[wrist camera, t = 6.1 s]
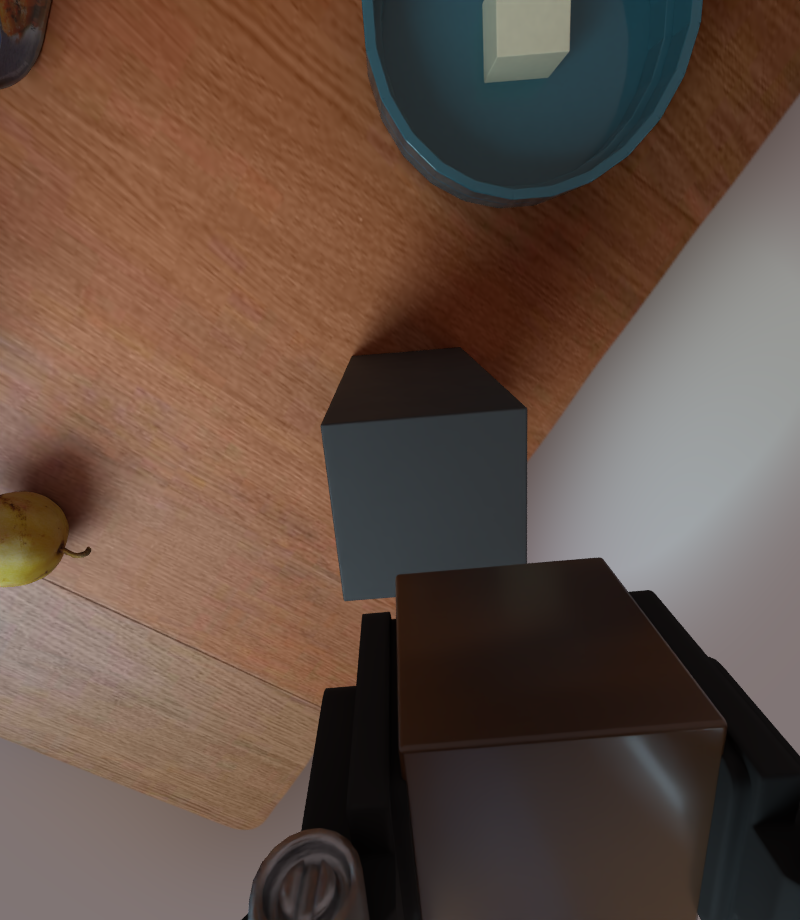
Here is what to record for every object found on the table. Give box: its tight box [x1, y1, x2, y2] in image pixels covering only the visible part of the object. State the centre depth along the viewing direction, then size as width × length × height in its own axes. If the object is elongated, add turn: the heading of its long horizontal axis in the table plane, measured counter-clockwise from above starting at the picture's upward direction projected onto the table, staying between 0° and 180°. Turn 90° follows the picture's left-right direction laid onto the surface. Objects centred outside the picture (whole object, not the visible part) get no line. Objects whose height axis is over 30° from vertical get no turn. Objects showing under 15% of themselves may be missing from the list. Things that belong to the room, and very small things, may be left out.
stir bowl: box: [362, 0, 703, 208], centre depth 30 cm, size 18×18×4 cm
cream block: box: [482, 0, 571, 83], centre depth 30 cm, size 4×4×4 cm
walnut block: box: [395, 558, 728, 920], centre depth 9 cm, size 4×4×4 cm
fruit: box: [0, 491, 91, 587], centre depth 38 cm, size 7×7×10 cm
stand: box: [321, 347, 527, 601], centre depth 30 cm, size 8×8×19 cm
